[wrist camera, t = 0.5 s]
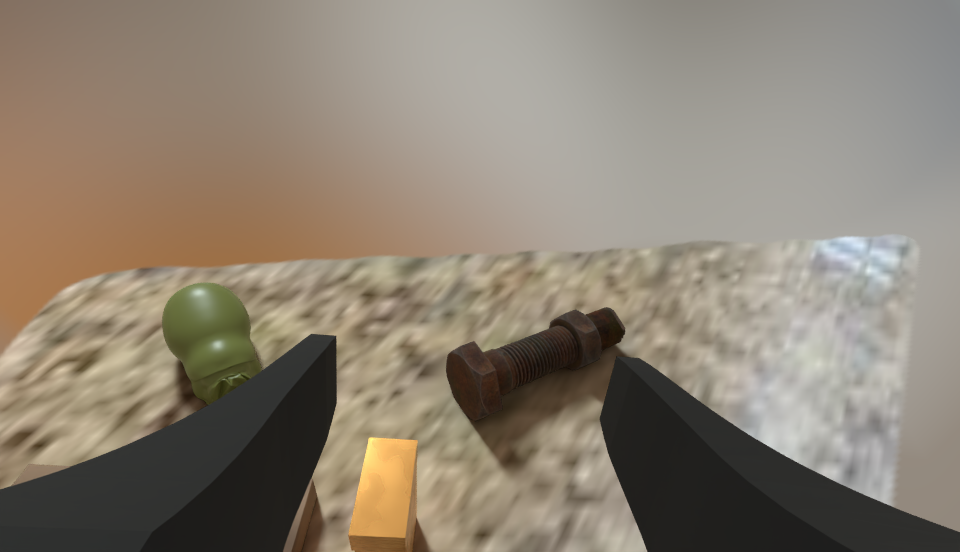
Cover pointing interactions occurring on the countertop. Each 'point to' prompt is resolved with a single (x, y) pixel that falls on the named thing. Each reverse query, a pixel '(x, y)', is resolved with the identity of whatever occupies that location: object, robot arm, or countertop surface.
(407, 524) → the notched wooden block
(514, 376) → the bolt
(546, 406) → the countertop surface
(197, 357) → the pear
